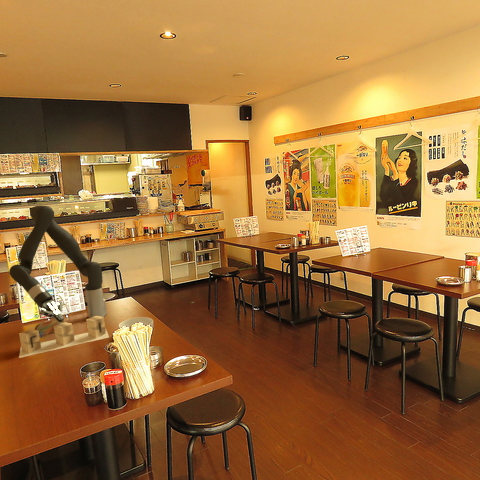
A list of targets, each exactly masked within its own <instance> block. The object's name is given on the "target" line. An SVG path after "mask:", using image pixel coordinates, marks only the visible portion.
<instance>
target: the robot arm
mask: <svg viewBox="0 0 480 480" xmlns="http://www.w3.org/2000/svg"><path fill="white" fill-rule="evenodd" d="M29 214H30V215H29V216H30V218H31V219H32V221H33V222H34V226H33V228H32V230H31V232H30V233H29V235H28V236H27V237H26V239H25V240H24V241H23V243H22V245H21V248H20V251H19V253H18V256H17V257H18V259H19V261H20V262H19V264H13V265H12V266H10V268H9V271H8V272H9V276H10V277H11V278H12V280H13V281H15V282H16V283H17V284H18V285H19V286H21V287H22V288H23V289H24V290H25V292H26V293H27V294H28V295H29V297H30V299H32V301H33V302H34V303H35V304H36V305H37V307H39V308H40V311H39V315H42V316H45V317H46V318H47V317H48V318H51V319H52V318H56V319H57V321H59V322H62V321H64V320H65V317H64V316H63V315H62V312H63V302H62V301H60V302H57V301H56V300H55V299H53V298H54V297H53V296H52V294H50V292H49V291H48V290H47V289H46V287H44V286H43V285H42V283H40V282H39V281H38V279H36V277H33V276H31V274H32V269H33V264H34V263H33V262H34V259H35V256H36V254H37V252H38V249H39V246H40V244H41V242H42V239H43V238H44V236H45V233H46V234H47V235H48V236H49V237H50V239H51V240H52V241H53V242H54V243H55V244H56V246H57V247H58V248H59V249H60V251H61V252H63V253H64V254H65V256H66V257H67V258H68V259H69V260H70V261H71V262H72V263H73V264H74V265H75V267H76V268H77V270H78V271H79V273H80V274H81V275H82V276H83V277H86V278H87V283H86V284H85V285H84V289H85V290H84V291H85V296H86V304H87V312H88V319H89V318H91V317H94V316H101V317H104V318H105V317H106V315H108V312H107V305H106V304H107V303H106V299H105V298H104V294H103V293H104V291H103V286H102V285H103V282H104V281H103V270H102V266H101V264H100V263H98V262H96V261H90V260H89V259H88V258H87V257H86V256H85V255H84V254H83V253H82V250H81V247H80V244H79V242H78V241H77V240H76V239H75V237H74V236H73V235H72V234H71V233H70V232H69V231H68V230H66V229H65V228H63V227H62V226H61V225H59V224H58V223H57V222H56V221H55V219H54V218H55V211H54V209H53V208H52V207H51V206H49V205H35V206H33V207H32V208H31V210H30V213H29Z"/></svg>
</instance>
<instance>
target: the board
mask: <svg viewBox="0 0 480 480" xmlns="http://www.w3.org/2000/svg"><path fill="white" fill-rule="evenodd" d="M105 330H106V334H104V335H102V336H100V337H98V338H93V337H89V336H88V332H84V333H80V334H74V340H75V341H73V342H71V343H69V344H66V345H60V344H56V339H52V340H47V341H43V342H42V341H41V342H40V344H41V349H38V350H36V351H34V352H31V353H26V352H23V351H22V348H21V347H20V350H19V355H18V359H20V358H25V357H29V356H33V355H38V354H43V353H49V352H51V351H55V350H59V349H60V350H61V349H64V348H69V347H73V346H77V345H82V344H86V343H90V342H95V341H99V340H104V339H108V338H110V335H109V333H108V330H107V328H105Z"/></svg>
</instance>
